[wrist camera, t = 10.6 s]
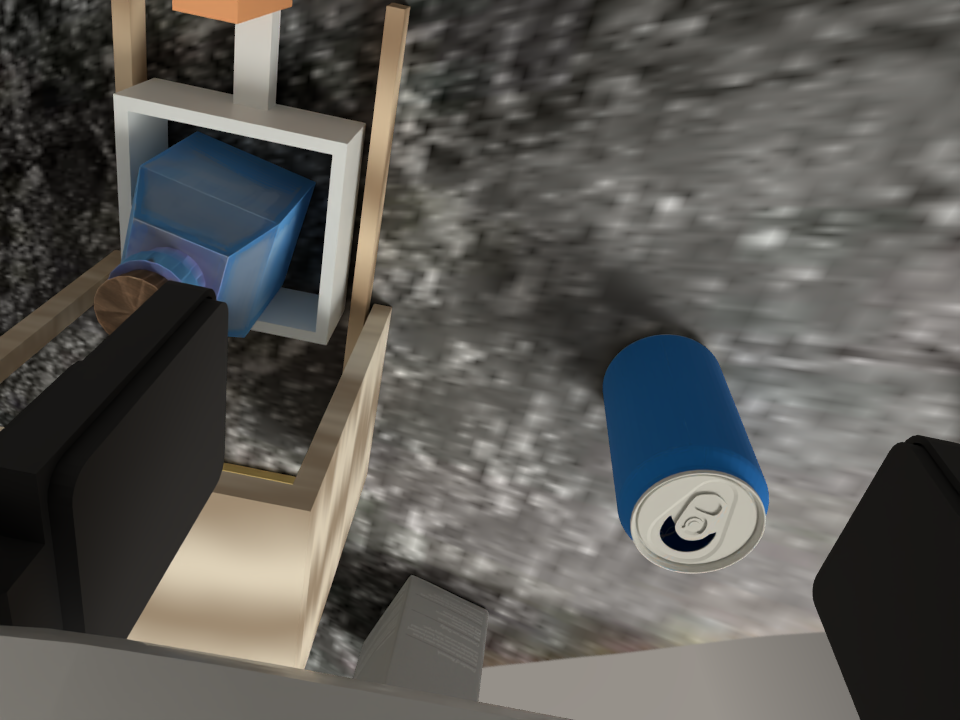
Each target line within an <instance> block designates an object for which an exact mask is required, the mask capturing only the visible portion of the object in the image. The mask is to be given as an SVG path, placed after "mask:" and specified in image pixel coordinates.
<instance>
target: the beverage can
mask: <svg viewBox="0 0 960 720" xmlns="http://www.w3.org/2000/svg"><path fill="white" fill-rule="evenodd" d="M603 397H604V405H605V413H606V421H607V429H608V437H609V445H610V453H611V461H612V469H613V477H614V484H615V492H616V500H617V508H618V515H619V519H620V522H621V524H622V526H623V528H624V530H625V532H626V533H627V534H628V536H629V537H630V538H631V539H632V540H633V542H634V543H635V545H636V547H637V549H638V550H639V551H640V553H641V554H642V555H643V556H644V557H645V558H646V559H648V560H649V561H650V562H652V563H654V564H655V565H657V566H659V567H662V568H664V569H667V570H670V571H674V572H679V573H707V572H712V571H716V570H720V569H723V568H725V567H728V566H730V565H732V564H734V563H736V562H738V561H739V560H741V559H743V558H744V557H745V556H746V555H748V554H749V553H750V552H751V551H752V550H753V549H754V548H755V547H756V545H757V544H758V542H759V541H760V539H761V537H762V535H763V532H764V529H765V524H766V514H767V510H768V504H769V492H768V488H767V484H766V481H765V479H764V476H763V474H762V471H761V469H760V466H759V464H758V461H757V459H756V456H755V454H754V451H753V449H752V446H751V444H750V441H749V439H748V436H747V434H746V431H745V429H744V426H743V424H742V421H741V418H740V416H739V413H738V411H737V408H736V406H735V403H734V401H733V398H732V396H731V393H730V391H729V388H728V386H727V383H726V381H725V378H724V376H723V373H722V371H721V368H720V366H719V363H718V361H717V360H716V358H715V356H714V355H713V354H712V353H711V352H710V351H709V350H708V349H707V348H706V347H705V346H703V345H702V344H700V343H699V342H697V341H695V340H693V339H690V338H687V337H684V336H679V335H671V334H661V335H654V336H649V337H646V338H643V339H640V340H637V341H635V342H634V343H632V344H630V345H628V346H627V347H625V348H624V349H623V350H622V351H620V352H619V353H618V354H617V355H616V356H615V358H614V359H613V360H612V362H611V363H610V365H609V366H608V368H607V371H606V373H605V376H604V380H603Z"/></svg>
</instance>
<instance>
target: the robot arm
mask: <svg viewBox="0 0 960 720" xmlns="http://www.w3.org/2000/svg"><path fill="white" fill-rule="evenodd" d="M227 349H228V306H227V304H226V302H222V301H217V299H216V294H215V292H214V290H213V289H211V288H206V287H201V286H196V285H192V284H187V283H182V282H177V281H172V280H169V281H167V282H166V283H164V284H163V285H162V286H161V287H160V288H159V289H158V290H157V291H156V292H155V293H154V294H153V295H152V296H151V297H150V298H148V299H147V300H146V301H145V302H144V303H143V304H142V305H141V306H140V307H139V308H138V309H137V310H136V311H135V312H134V313H133V314H132V315H130V316H129V317H128V318H127V319H126V320H125V321H124V322H123V323H122V324H121V325H120V326H119V327H118V328H117V329H116V330H115V331H113V332H112V333H111V334H110V335H109V336H108V337H107V338H106V339H105V340H104V341H103V342H102V343H101V344H100V345H99V346H98V347H97V348H95V349H94V350H93V351H92V352H91V353H90V354H89V355H88V356H87V357H86V358H85V359H84V360H83V361H78V362H76V363H75V364H73V365H72V366H70V367H69V368H68V369H67V370H66V371H65V372H64V373H62V374H61V375H60V376H59V377H58V378H57V379H56V380H55V381H54V382H53V383H52V384H51V385H50V386H48V387H47V388H46V389H45V390H44V391H43V392H42V393H41V394H40V395H39V396H38V397H37V398H36V399H35V400H33V401H32V402H31V403H30V404H29V405H28V406H27V407H26V408H25V409H24V410H23V411H22V412H21V413H19V414H18V415H17V416H16V417H15V418H14V419H13V420H12V421H11V422H10V423H9V424H8V425H7V426H6V427H4V428H3V429H2V430H1V431H0V720H571V719H567V718H561V717H556V716H551V715H546V714H540V713H535V712H529V711H525V710H519V709H514V708H509V707H503V706H498V705H493V704H487V703H482V702H477V701H471V700H466V699H461V698H455V697H450V696H444V695H439V694H434V693H428V692H423V691H417V690H412V689H407V688H401V687H396V686H390V685H385V684H380V683H374V682H369V681H363V680H358V679H353V678H347V677H342V676H337V675H331V674H326V673H320V672H315V671H310V670H304V669H299V668H293V667H288V666H283V665H277V664H271V663H266V662H260V661H254V660H248V659H242V658H236V657H230V656H224V655H219V654H213V653H207V652H201V651H195V650H189V649H183V648H178V647H172V646H166V645H160V644H153V643H147V642H141V641H135V640H129V639H127V638H128V636H129V634H130V632H131V631H132V629H133V627H134V626H135V624H136V622H137V620H138V619H139V617H140V615H141V614H142V612H143V610H144V608H145V607H146V605H147V603H148V602H149V600H150V598H151V596H152V595H153V593H154V591H155V590H156V588H157V586H158V584H159V583H160V581H161V579H162V578H163V576H164V574H165V573H166V571H167V569H168V567H169V566H170V564H171V562H172V561H173V559H174V557H175V555H176V554H177V552H178V550H179V549H180V547H181V545H182V543H183V542H184V540H185V538H186V537H187V535H188V533H189V531H190V530H191V528H192V526H193V525H194V523H195V521H196V520H197V518H198V516H199V514H200V513H201V511H202V509H203V508H204V506H205V504H206V502H207V501H208V499H209V497H210V496H211V494H212V492H213V490H214V489H215V487H216V485H217V483H218V481H219V479H220V476H221V473H222V469H223V464H224V452H225V418H226V384H227ZM813 601H814V604H815V607H816V609H817V612H818V614H819V617H820V619H821V622H822V624H823V627H824V629H825V632H826V634H827V637H828V639H829V642H830V644H831V647H832V649H833V652H834V655H835V657H836V660H837V662H838V665H839V667H840V669H841V672H842V675H843V677H844V680H845V682H846V685H847V687H848V690H849V692H850V695H851V697H852V700H853V702H854V705H855V707H856V710H857V712H858V715H859V717H860V720H960V444H958V443H954V442H949V441H945V440H940V439H935V438H930V437H925V436H920V435H916V436H912V437H910V438H909V439H907V440H906V441H905V443H904V442H900V443H897V444H896V445H894V446H893V447H892V449H891V450H890V451H889V453H888V455H887V456H886V458H885V460H884V461H883V463H882V465H881V467H880V468H879V470H878V472H877V473H876V475H875V477H874V478H873V480H872V482H871V484H870V485H869V487H868V489H867V490H866V492H865V494H864V495H863V497H862V499H861V501H860V502H859V504H858V506H857V507H856V509H855V511H854V512H853V514H852V516H851V518H850V519H849V521H848V523H847V524H846V526H845V528H844V529H843V531H842V533H841V535H840V536H839V538H838V540H837V541H836V543H835V545H834V546H833V548H832V550H831V552H830V553H829V555H828V557H827V558H826V560H825V562H824V563H823V565H822V567H821V569H820V570H819V572H818V574H817V575H816V578H815V580H814V584H813Z"/></svg>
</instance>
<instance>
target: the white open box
mask: <svg viewBox="0 0 960 720" xmlns="http://www.w3.org/2000/svg"><path fill="white" fill-rule="evenodd" d="M172 5H173V10H175V11H180V12H184V13H189V14H193V15H198V16H203V17H207V18H212V19H216V20H221V21H225V22H230V23H235V53H234V90H233V94H228V93H224V92H219V91H214V90H210V89H205V88H200V87H196V86H191V85H187V84H182V83H177V82H173V81H168V80H163V79H159V78H152V79H150V80H147V81H145V82H142V83H140V84H137V85H134V86H132V87H129V88H127V89H124V90H122V91H119V92H117V93H114V94H113V101H114V121H115V141H116V161H117V181H118V201H119V221H120V241H121V259H122V254H123V249H124V244H125V239H126V234H127V228H128V223H129V218H130V213H131V208H132V203H133V198H134V193H135V188H136V182H137V177H138V172H139V167H140V165H142V164H143V163H145V162H147V161H148V160H150V159H152V158H153V157H155V156H157V155H158V154H160V153H162V152H163V151H165V150H167V149H168V120H172V121H177V122H182V123H186V124H191V125H196V126H200V127H205V128H210V129H214V130H219V131H224V132H228V133H233V134H238V135H243V136H247V137H252V138H257V139H261V140H266V141H271V142H275V143H280V144H285V145H289V146H294V147H299V148H303V149H308V150H313V151H317V152H322V153H327V154H331V155H332V166H331V176H330V186H329V197H328V207H327V218H326V228H325V239H324V249H323V260H322V270H321V281H320V291H319V295H317V294H312V293H307V292H302V291H298V290H293V289H288V288H283V287H281V288H280V289H279V291H278V292H277V294H276V295H275V296H274V298H273V299H272V300H271V302H270V303H269V305H268V306H267V307H266V309H265V310H264V312H263V313H262V314H261V316H260V317H259V318H258V320H257V321H256V323H255V324H254V325H253V327H252V328H251V330H254V331H259V332H264V333H269V334H274V335H279V336H283V337H288V338H293V339H298V340H303V341H308V342H313V343H318V344H322V345H327V343H328V341H329V339H330V337H331V335H332V334H333V332H334V330H335V328H336V326H337V324H338V322H339V320H340V318H341V316H342V314H343V312H344V310H345V302H346V294H347V285H348V276H349V268H350V259H351V250H352V242H353V233H354V224H355V216H356V207H357V199H358V190H359V181H360V173H361V164H362V155H363V147H364V138H365V129H366V123H363V122H358V121H354V120H349V119H344V118H340V117H335V116H330V115H326V114H321V113H317V112H312V111H307V110H303V109H298V108H293V107H289V106H284V105H279V104H276V88H277V70H278V52H279V34H280V16H281V10H282V9H286V8H289V7H292V0H172Z"/></svg>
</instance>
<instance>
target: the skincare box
mask: <svg viewBox="0 0 960 720" xmlns="http://www.w3.org/2000/svg"><path fill="white" fill-rule="evenodd" d="M487 624H488V611H487V610H486V609H483V608H481V607H479V606H477V605H475V604H473V603H471V602H469V601H466V600H464V599H462V598H460V597H458V596H456V595H454V594H452V593H450V592H448V591H446V590H444V589H442V588H440V587H437V586H436V585H434V584H431V583H429V582H427V581H425V580H423V579H420V578H418V577H416V576H414V575H411V576H410V577H409V578H408V579H407V581H406V582H405V584H404V585H403V586H402V588H401V589H400V591H399V592H398V594H397V595H396V596H395V598H394V599H393V601H392V602H391V604H390V605H389V606H388V608H387V609H386V611H385V612H384V614H383V615H382V616H381V618H380V619H379V621H378V622H377V624H376V625H375V627H374V628H373V629H372V631H371V632H370V634H369V635H368V637H367V638H366V640H365V641H364V643H363V646H362V649H361V652H360V655H359V659H358V662H357V666H356V669H355V672H354V676H353V679H358V680H363V681H369V682H374V683H380V684H385V685H390V686H396V687H401V688H407V689H412V690H417V691H423V692H428V693H434V694H439V695H444V696H450V697H455V698H461V699H466V700H471V701H477V702H478V701H479V691H480V682H481V675H482V666H483V658H484V649H485V640H486V632H487Z"/></svg>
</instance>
